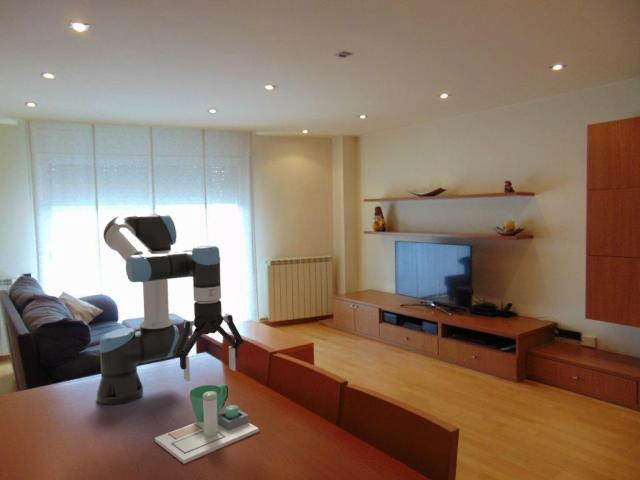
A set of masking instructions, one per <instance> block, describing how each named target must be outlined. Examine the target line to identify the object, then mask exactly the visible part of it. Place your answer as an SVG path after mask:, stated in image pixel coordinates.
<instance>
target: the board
mask: <svg viewBox="0 0 640 480" xmlns="http://www.w3.org/2000/svg"><path fill="white" fill-rule="evenodd" d="M217 420H218V431H217V432H216V433H217V435H216V436H214V437H206V433H204V422H198V421H196V422H194V423H191V424H188V425H186V426H183V427H180V428H178V429H175V430H173V431H169V432H166V433H164V434H161V435H159V436H156V437H154V442H155V443H157V445H159V446H160V447H162V449H164V450H166V451H167V452H168V453H169V454H170V455H172V456H173V457H174V458H176V459H177V460H178V461H179V462H181V463H182V464H187V463H189V462H191V461H193V460H196V459H198V458H200V457H203V456H205V455H208V454H210V453H212V452H214V451H217V450H218V449H221V448H223V447H226V446H229V445H230V444H233V443H235V442H239V441H240V440H241V439H245V438H248V436H251V435H254V434H257V433H258V432H259V430H260V429H259V427H257V426H256V425H254V424H252V423H250V422H249V414H248V413H246V412H244V411H242V410H240V409H239V417H237V418H234V419H232V420H228V419H226V418H225V411H222V412H221V413H220V412H219V413H218V414H217Z"/></svg>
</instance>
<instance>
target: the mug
mask: <svg viewBox="0 0 640 480" xmlns="http://www.w3.org/2000/svg"><path fill="white" fill-rule="evenodd" d="M210 391H214V392H216V393H217V414H220V412H221V411H222V409H223V408H224V406H225V404H226V402H227V399H228V397H229V387H228V385H227V384H226V383H220V384H218V385H213V384H206V385H200V386H196V387H194V388H193V389H191V390H190V391H189V398H190V402H191V407H192V409H193V410H192V411H193V413H194V416H195V418H196V420H197V421H196V422H204V411H203V394H204V393H205V392H210Z"/></svg>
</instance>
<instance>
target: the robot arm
mask: <svg viewBox="0 0 640 480" xmlns="http://www.w3.org/2000/svg"><path fill="white" fill-rule="evenodd" d="M103 240H104V243H105V244H106V245H107V246H108V247H109V248H110V249H111V250H113V251H116V252H117V253H118V254H119V255H120V257H122V259H123V261H125V271H126V276H127V279H128V280H129V282H131V283H142V291H143V293H142V294H143V316H144V317H143V318H144V319H143V321H142V322H141V323H140V325H139V330H137V331H136V330H135V328H133V327H122V328H118V329H114V330H111V331H109V332H107V333H105V334H104V335H102V336H101V337H100V340H99V349H98V351H99V355H100V357H99V359H100V374H101V376H100V377H101V378H100V382H99V385H98V389H97V392H96V401H97V402H98V403H99V404H101V405H107V406H108V405H120V404H126V403H130V402H132V401H134V400H137V399H138V398H141V397H142V396H143V394H144V386H143V383H142V382H141V379H140V377H139V376H140V375H139V374H138V368H137V367H138V366H137V365H140V364H144V363H149V362H150V363H151V362H153V361H159V360H165V359H168V358H172V357H176V358H179V367H180V370H181V369H182V370H183V379H184V380H185V381H186V382H190V381H191V372H190V371H191V370H190V357H189V356H188V355H189V353H190V352H191V351H192V349H193V347H194V346H195V345H196V343H197V342H198V340H199V339H200V338H202V336H203V335H205V336H206V335H209V334H216V333H219V335H221V336H222V337H223V339H224V340H226V341H227V343H229V344H230V345H231V346H228V363H229V364H228V366H229V367H228V368H229V369H230V370H231V371H233V372H234V371H237V370H236V369H237V368H236V359H237V358H238V356H239V352H238V349H239V348H240V345H243V344H244V343H245V342H244V340H243V337H242V336H241V334H240V332H239V330H238V327H236V324H235V323H234V317H233V315H231V314H230V313H225V315H222V313H223V311H222V310H223V309H222V300H221V298H222V289H221V288H222V287H221V286H222V285H221V256H220V249H219V247H217V246H216V245H198V246H194V247H193V248H192V250H191V249H190V250H183V251H178V252H171V251H172V246H173V245H175V244H176V243H177V230H176V225H175V222H174V220H173V218H172V217H171V215H169V214H167V213H157V212H154V213H136V214H135V213H126V214H125V213H124V214H121V215H118V216H117V217H114V218H113V219H111V220H110V221H108V223H107V224H106V226H105V227H104V229H103ZM191 277H192V282H193V284H192V287H193V300H194V303H193V307H194V308H193V312H194V314H193V315H194V318H193V319H194V320H187V319H185V320H183V322H182V328H181V332H179V328H178V326H177V325H174V321H172V319H170V316H169V314H170V313H169V312H170V311H169V285H168V284H169V282H168V281H169V280H172V279H173V280H174V279H181V278H182V279H183V278H191ZM223 322H224V323H226V325H227V327H228V329H229V331H230V332H231V334H232V336H233V337H232V336H231V335H230V334H229V333H228V332H227V331H226V330H225V329H224V328H223V327H222V326H221V325H222V324H223ZM193 326H194V328H195V329H194V330H193V331H192V334H191V336H190V337H189V334H190V331H191V330H192V328H193ZM188 337H189V338H188ZM233 338H234V339H233ZM187 339H188V340H187ZM186 341H187V342H186Z"/></svg>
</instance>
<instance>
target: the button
mask: <svg viewBox="0 0 640 480" xmlns="http://www.w3.org/2000/svg"><path fill="white" fill-rule="evenodd" d="M239 410H240V409H239V406H238V405H237V404H236V405H235V404H232V405H231V404H230V405H227V406H225V408H224V412H225V418H226V419H228V420H232V419H234V418H237V417H239Z"/></svg>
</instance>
